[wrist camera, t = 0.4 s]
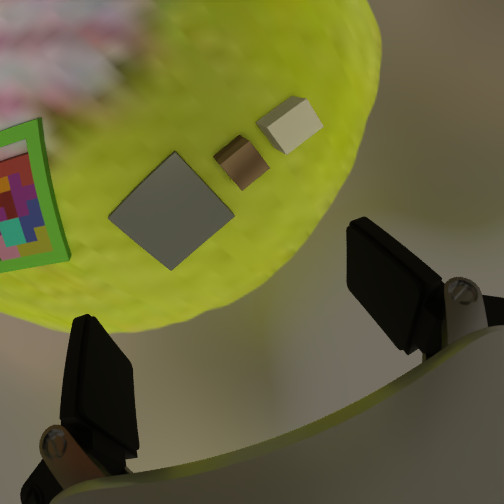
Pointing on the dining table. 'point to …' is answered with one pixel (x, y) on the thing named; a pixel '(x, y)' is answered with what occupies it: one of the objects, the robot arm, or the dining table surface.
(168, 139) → the dining table surface
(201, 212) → the base plate
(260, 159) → the walnut cube
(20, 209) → the jigsaw puzzle tray
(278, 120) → the cream brick
